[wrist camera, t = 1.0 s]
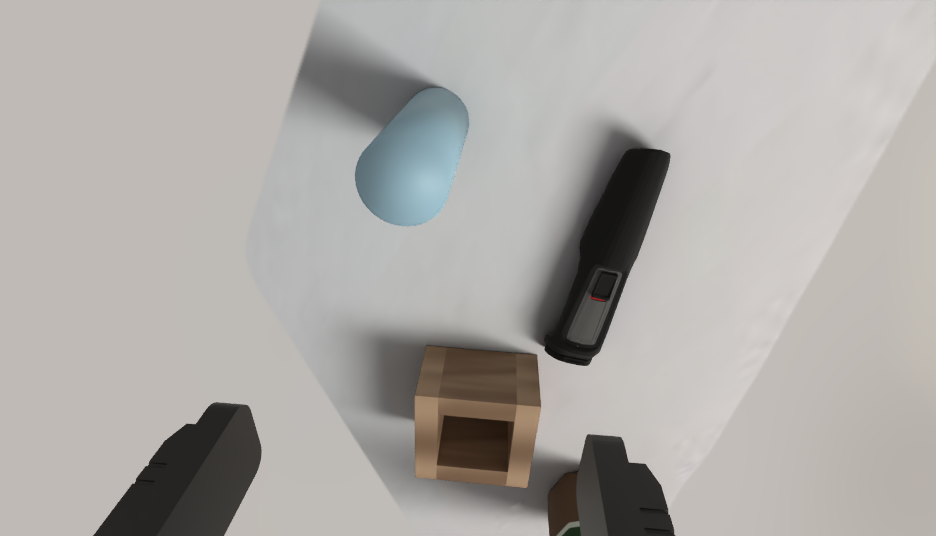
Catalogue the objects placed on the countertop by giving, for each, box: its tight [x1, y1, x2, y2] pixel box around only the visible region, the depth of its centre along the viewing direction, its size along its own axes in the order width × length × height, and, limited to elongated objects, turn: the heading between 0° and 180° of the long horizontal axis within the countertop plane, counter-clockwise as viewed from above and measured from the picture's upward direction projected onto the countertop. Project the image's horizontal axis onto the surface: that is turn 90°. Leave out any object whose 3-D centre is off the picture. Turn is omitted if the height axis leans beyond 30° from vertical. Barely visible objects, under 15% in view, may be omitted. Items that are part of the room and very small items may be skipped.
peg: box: [355, 87, 469, 226], centre depth 23 cm, size 4×4×10 cm
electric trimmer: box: [544, 148, 670, 366], centre depth 29 cm, size 4×16×3 cm, turn 168°
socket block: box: [415, 346, 541, 488], centre depth 35 cm, size 8×8×5 cm
